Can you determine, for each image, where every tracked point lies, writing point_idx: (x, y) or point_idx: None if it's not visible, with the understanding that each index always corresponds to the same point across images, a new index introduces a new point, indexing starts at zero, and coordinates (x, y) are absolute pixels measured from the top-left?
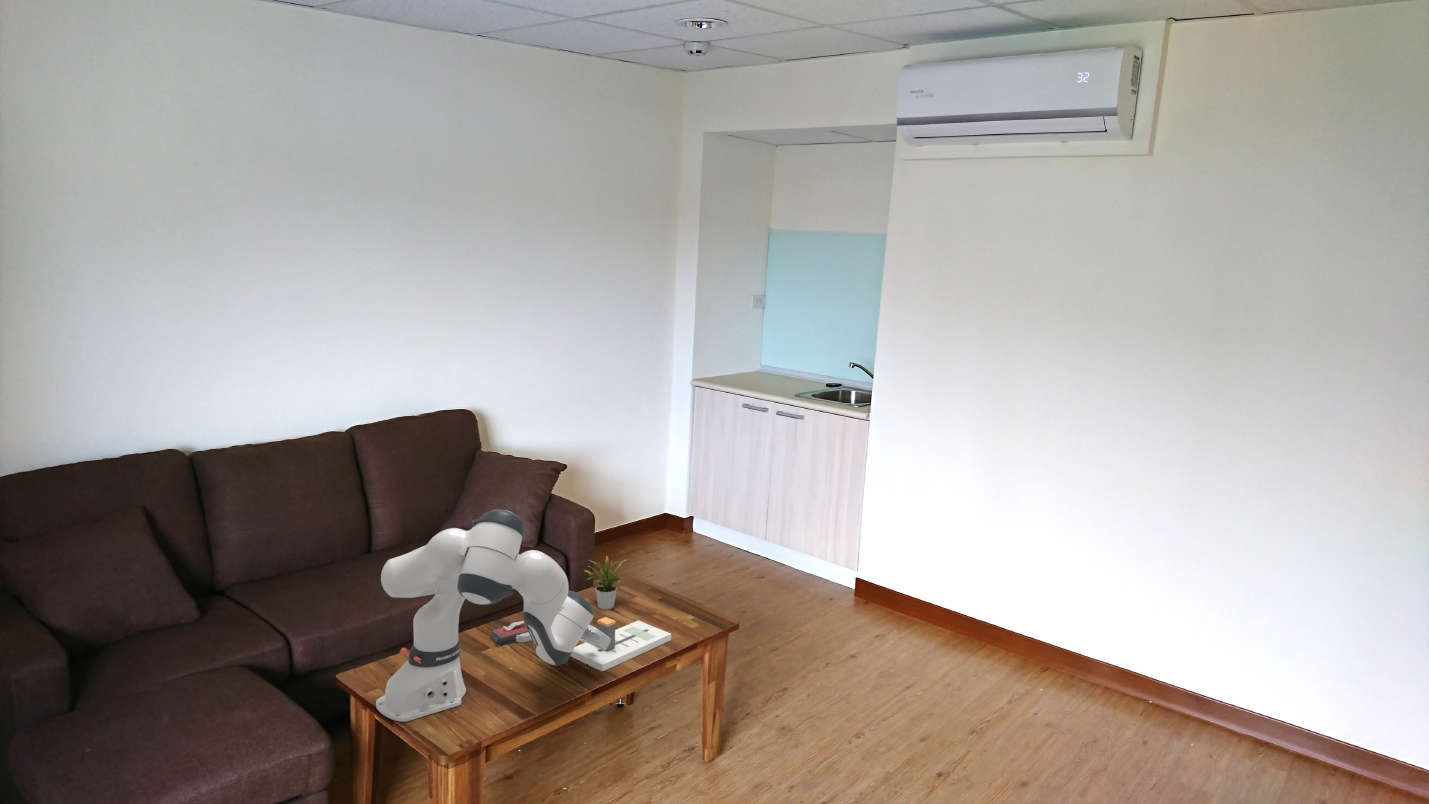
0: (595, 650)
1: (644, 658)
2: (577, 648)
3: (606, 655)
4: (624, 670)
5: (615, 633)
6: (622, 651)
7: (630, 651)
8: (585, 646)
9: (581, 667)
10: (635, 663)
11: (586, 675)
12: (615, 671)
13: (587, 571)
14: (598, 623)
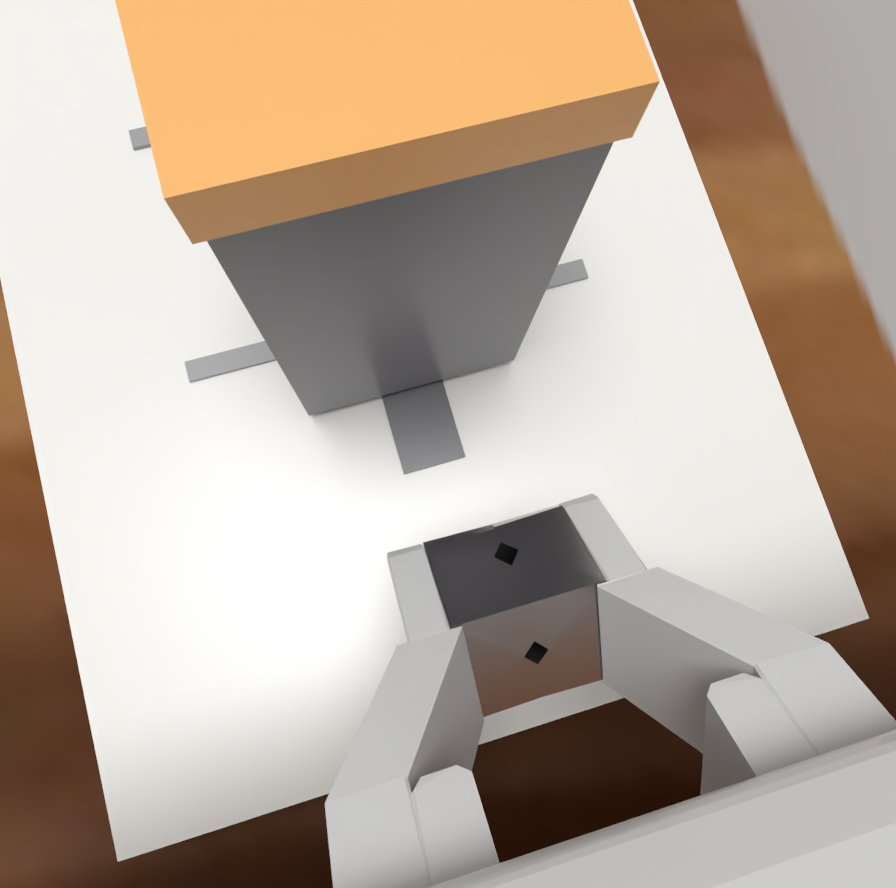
0: (388, 496)
1: (707, 33)
2: (171, 720)
3: (613, 428)
4: (888, 360)
5: (38, 6)
6: (606, 186)
7: (652, 101)
8: (175, 569)
9: (576, 815)
10: (777, 171)
11: None
12: (869, 465)
13: None
14: (223, 233)
